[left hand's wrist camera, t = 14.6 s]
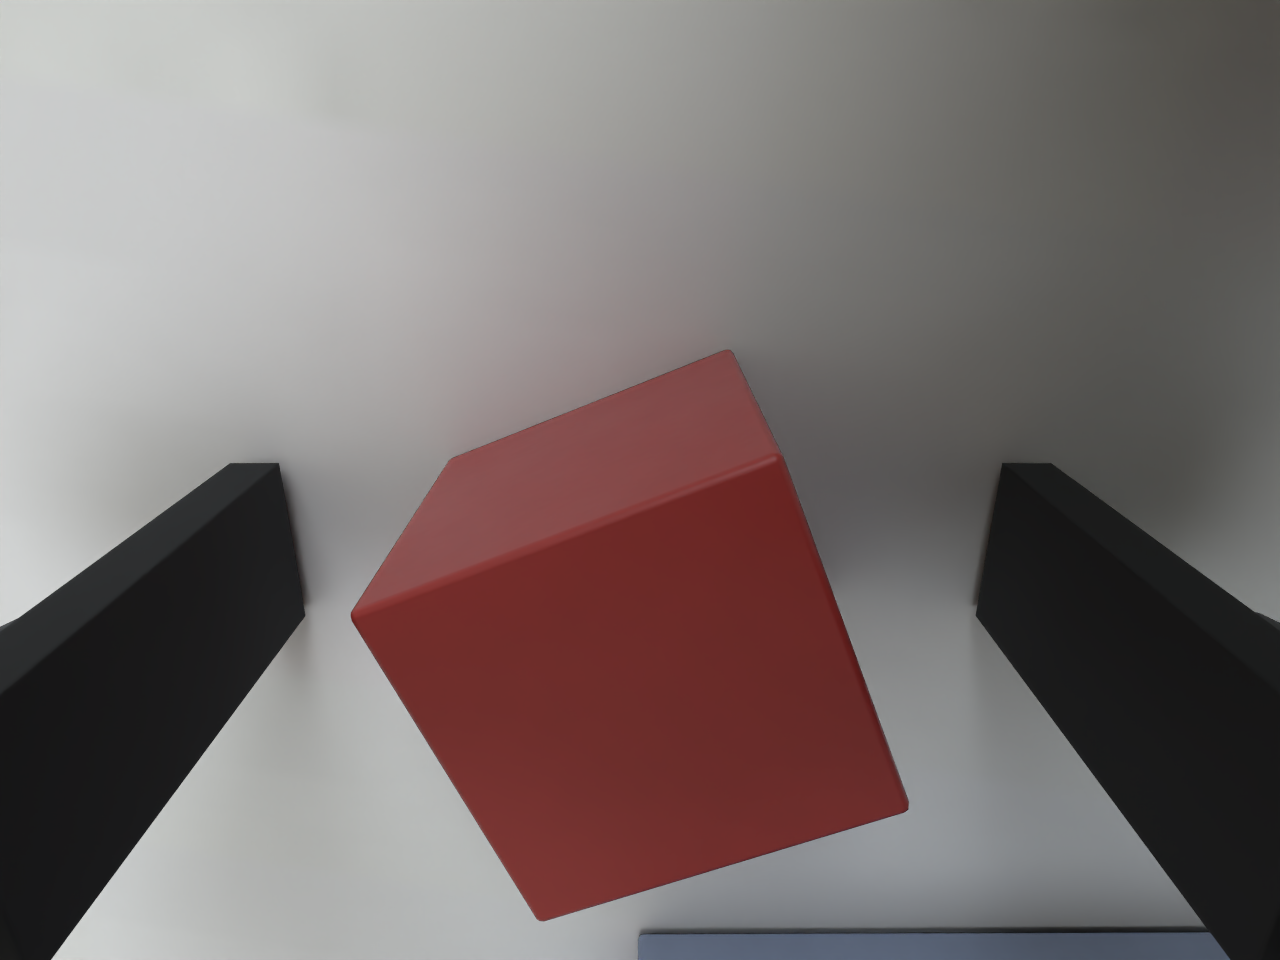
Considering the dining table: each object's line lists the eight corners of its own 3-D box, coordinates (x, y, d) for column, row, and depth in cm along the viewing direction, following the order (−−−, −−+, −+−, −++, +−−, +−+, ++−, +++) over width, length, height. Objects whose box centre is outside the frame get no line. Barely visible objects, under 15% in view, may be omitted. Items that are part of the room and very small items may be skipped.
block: (569, 691, 14) (537, 927, 10) (447, 458, 13) (344, 616, 8) (825, 603, 14) (913, 813, 9) (730, 346, 12) (783, 452, 8)
